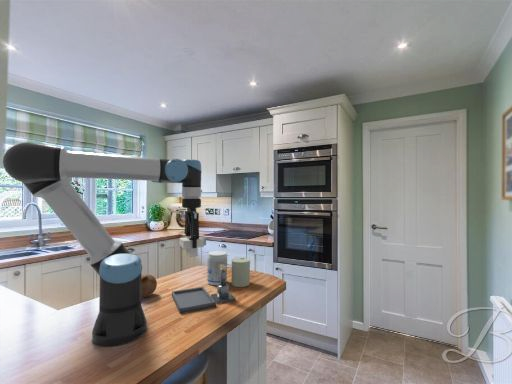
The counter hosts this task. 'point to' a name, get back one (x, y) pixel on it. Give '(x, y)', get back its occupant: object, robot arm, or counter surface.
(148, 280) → the onion
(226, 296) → the metal post stand
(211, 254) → the supplement tub
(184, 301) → the tray
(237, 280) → the can
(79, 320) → the counter surface
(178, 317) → the counter surface
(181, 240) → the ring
